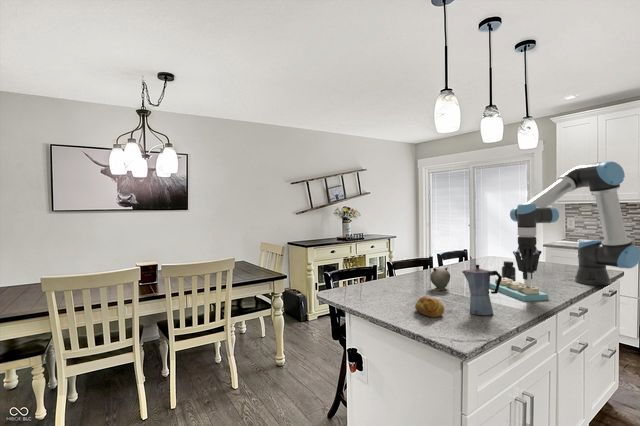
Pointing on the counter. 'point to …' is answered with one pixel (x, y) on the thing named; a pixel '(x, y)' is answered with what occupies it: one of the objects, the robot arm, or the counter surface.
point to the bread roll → (429, 307)
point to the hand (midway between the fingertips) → (527, 286)
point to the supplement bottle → (509, 271)
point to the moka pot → (481, 290)
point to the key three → (528, 290)
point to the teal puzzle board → (519, 293)
